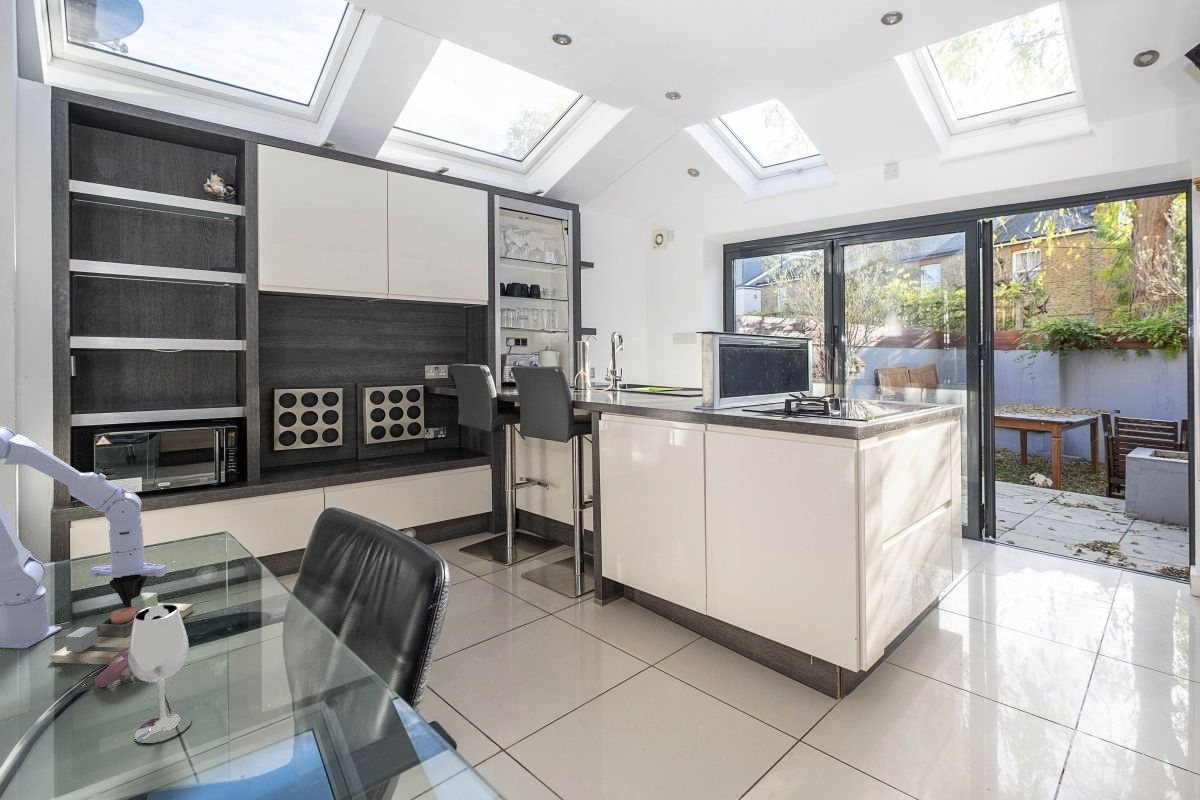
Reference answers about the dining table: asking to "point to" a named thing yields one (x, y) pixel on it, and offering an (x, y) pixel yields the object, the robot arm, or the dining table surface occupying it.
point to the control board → (108, 642)
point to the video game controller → (115, 672)
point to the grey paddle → (81, 639)
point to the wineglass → (158, 657)
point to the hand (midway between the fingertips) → (131, 606)
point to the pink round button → (123, 615)
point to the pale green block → (144, 601)
